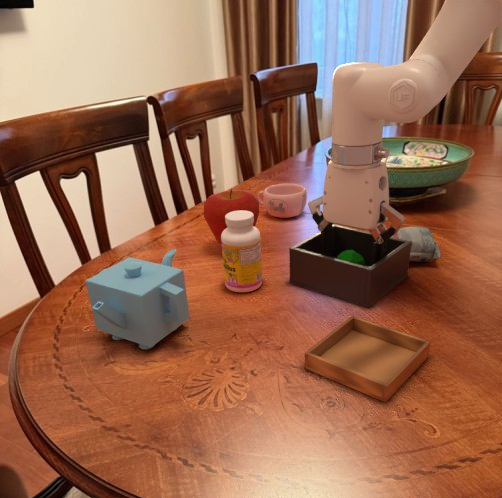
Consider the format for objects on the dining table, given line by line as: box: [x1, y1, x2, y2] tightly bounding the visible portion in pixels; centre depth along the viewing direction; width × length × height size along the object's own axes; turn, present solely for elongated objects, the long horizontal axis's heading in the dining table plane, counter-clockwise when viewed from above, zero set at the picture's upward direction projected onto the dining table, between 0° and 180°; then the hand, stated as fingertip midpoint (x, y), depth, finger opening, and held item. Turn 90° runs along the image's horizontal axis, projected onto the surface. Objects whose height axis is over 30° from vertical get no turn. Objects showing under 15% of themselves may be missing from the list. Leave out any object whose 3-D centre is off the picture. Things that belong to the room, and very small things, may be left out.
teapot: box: [84, 248, 191, 350], centre depth 77 cm, size 16×18×11 cm
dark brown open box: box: [288, 224, 412, 309], centre depth 89 cm, size 16×14×7 cm
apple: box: [203, 188, 260, 246], centre depth 103 cm, size 11×11×12 cm
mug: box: [256, 183, 308, 219], centre depth 120 cm, size 12×10×6 cm
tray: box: [304, 315, 431, 403], centre depth 69 cm, size 12×12×2 cm
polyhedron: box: [337, 250, 364, 266], centre depth 89 cm, size 5×5×5 cm
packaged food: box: [392, 226, 442, 263], centre depth 97 cm, size 9×12×5 cm
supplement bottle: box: [221, 210, 263, 293], centre depth 88 cm, size 7×7×13 cm
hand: (352, 256), depth 89 cm, fingers open, 9 cm apart
